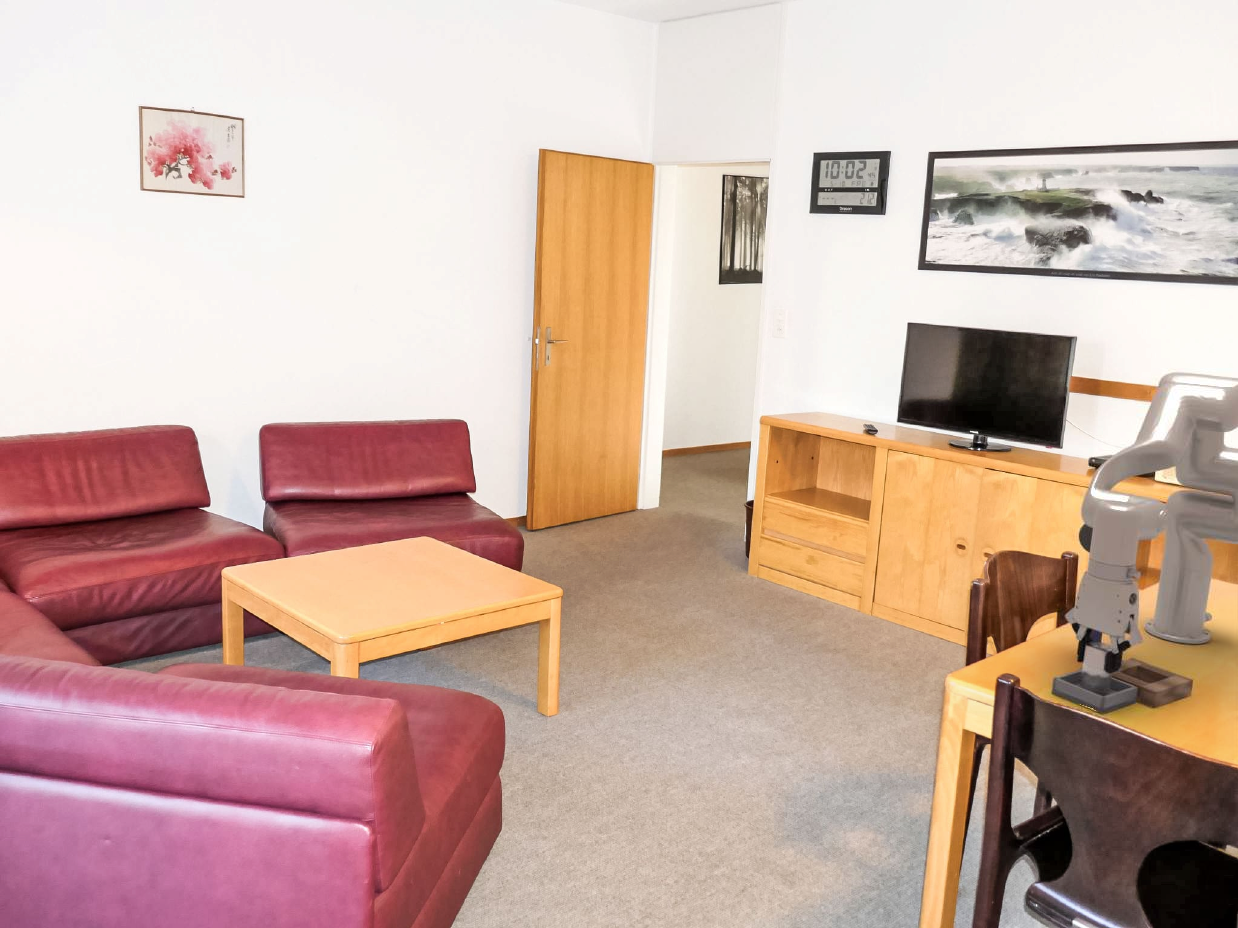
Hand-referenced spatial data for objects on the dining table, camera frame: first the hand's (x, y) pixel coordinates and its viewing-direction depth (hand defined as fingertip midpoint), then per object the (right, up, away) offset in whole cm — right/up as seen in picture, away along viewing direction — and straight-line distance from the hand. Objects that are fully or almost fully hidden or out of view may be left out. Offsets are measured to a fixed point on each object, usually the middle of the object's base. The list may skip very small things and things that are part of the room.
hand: (1097, 665), depth 193 cm
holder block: (+11, -6, +6) cm, 14 cm away
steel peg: (0, -4, +1) cm, 4 cm away
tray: (0, -6, +1) cm, 6 cm away
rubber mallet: (+7, -3, +20) cm, 22 cm away
